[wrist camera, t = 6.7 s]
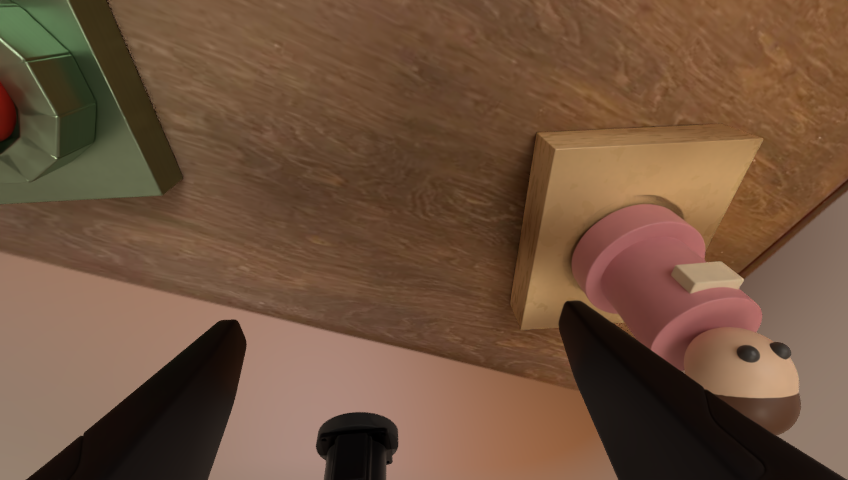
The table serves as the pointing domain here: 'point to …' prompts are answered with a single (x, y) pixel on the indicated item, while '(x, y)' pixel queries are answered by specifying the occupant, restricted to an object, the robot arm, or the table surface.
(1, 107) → the button
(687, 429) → the robot arm
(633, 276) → the doll
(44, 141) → the green button box
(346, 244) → the table surface
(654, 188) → the doll stand
